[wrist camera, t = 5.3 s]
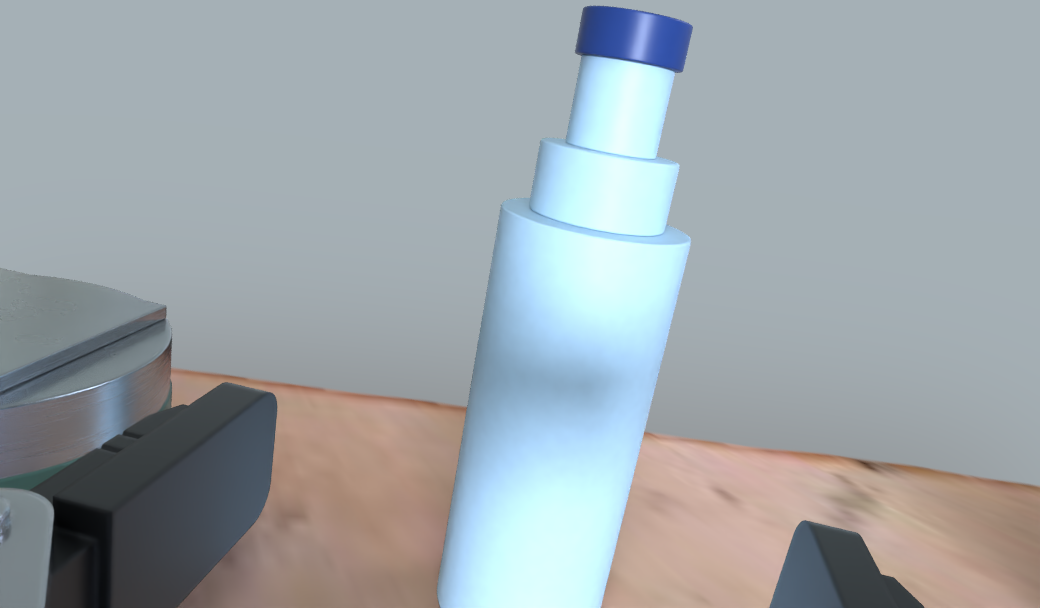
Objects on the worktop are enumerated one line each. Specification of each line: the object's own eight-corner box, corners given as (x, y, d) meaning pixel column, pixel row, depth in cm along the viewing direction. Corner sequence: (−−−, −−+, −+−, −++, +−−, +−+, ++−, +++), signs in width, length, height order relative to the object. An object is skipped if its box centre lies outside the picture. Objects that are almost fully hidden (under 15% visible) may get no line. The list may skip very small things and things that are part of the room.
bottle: (598, 582, 28) (729, 43, 22) (588, 696, 22) (758, 23, 17) (456, 546, 28) (548, 11, 23) (413, 649, 23) (521, -17, 17)
